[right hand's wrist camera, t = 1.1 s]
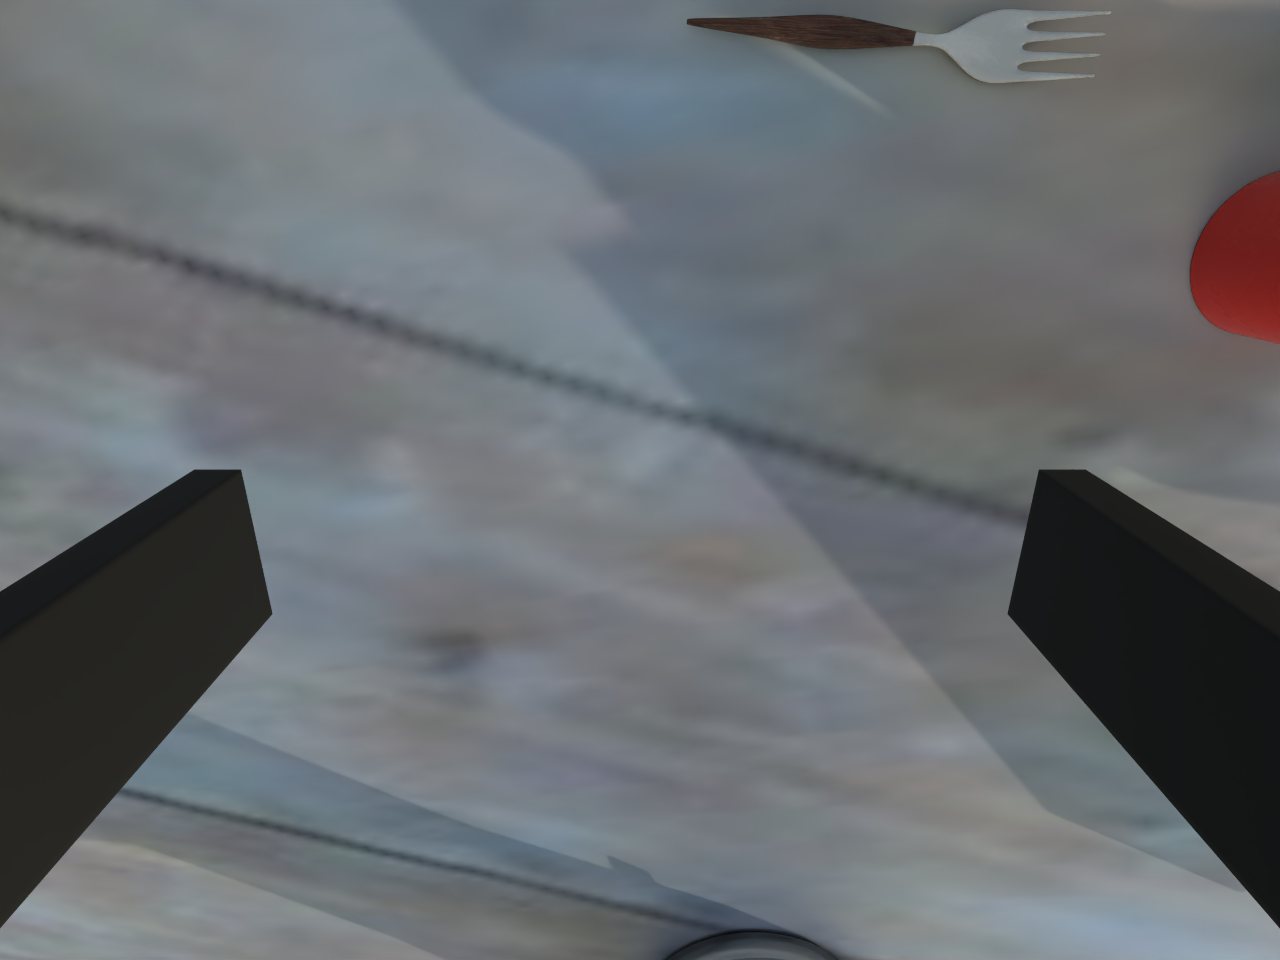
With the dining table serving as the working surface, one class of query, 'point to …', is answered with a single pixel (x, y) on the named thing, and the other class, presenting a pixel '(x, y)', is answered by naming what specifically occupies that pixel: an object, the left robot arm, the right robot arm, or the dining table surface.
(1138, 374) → the dining table surface
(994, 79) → the fork
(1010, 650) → the dining table surface
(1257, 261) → the canister
